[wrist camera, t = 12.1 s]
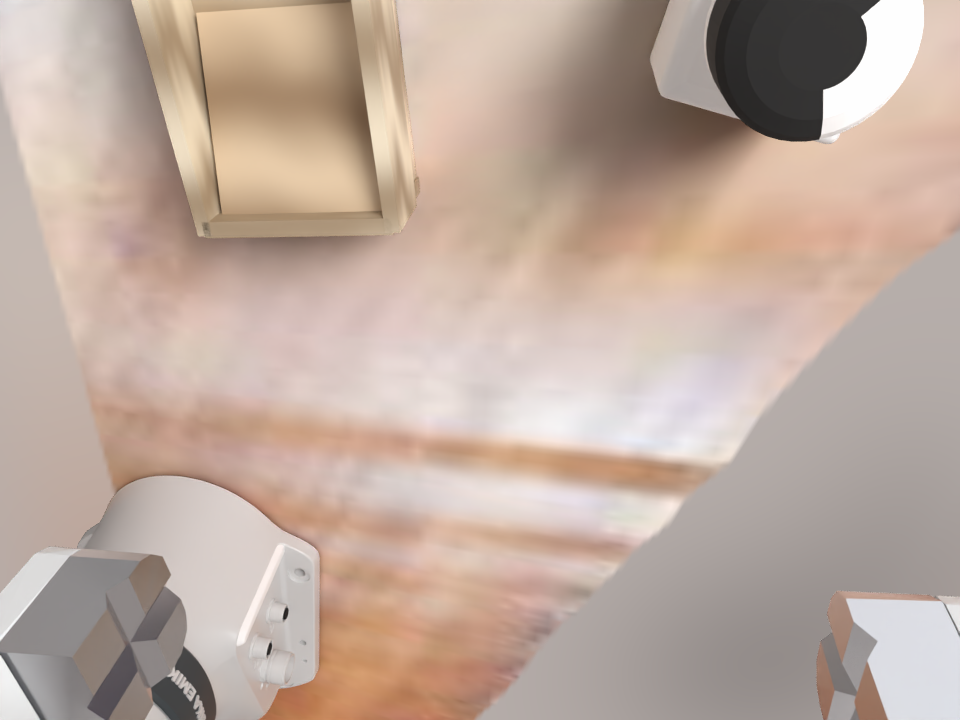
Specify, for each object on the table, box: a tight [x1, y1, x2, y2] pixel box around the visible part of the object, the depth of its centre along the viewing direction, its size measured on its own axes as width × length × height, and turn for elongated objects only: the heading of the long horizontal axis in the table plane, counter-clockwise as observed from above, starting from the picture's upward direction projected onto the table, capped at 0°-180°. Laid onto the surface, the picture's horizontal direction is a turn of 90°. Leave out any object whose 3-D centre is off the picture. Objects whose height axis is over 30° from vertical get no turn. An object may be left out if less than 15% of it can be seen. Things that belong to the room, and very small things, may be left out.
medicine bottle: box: [650, 0, 924, 144], centre depth 28 cm, size 7×7×12 cm
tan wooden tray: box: [131, 0, 420, 238], centre depth 33 cm, size 16×10×6 cm, turn 4°
